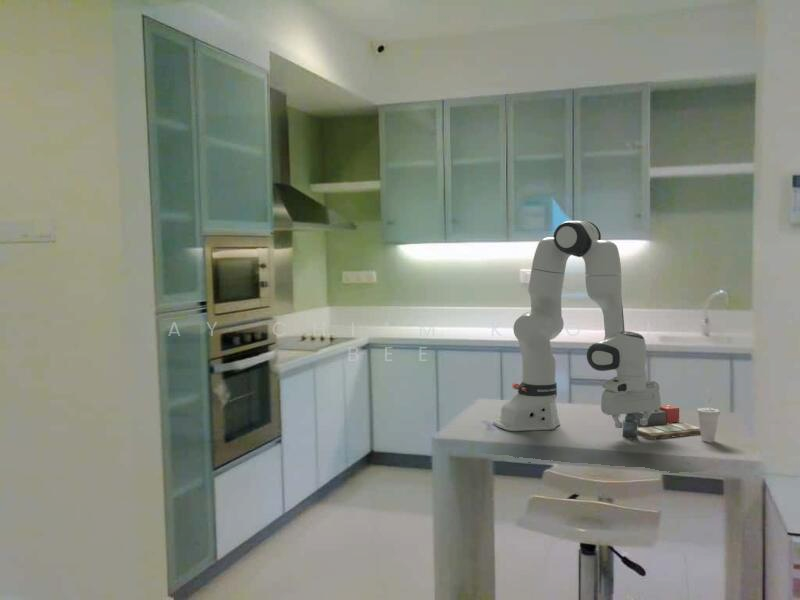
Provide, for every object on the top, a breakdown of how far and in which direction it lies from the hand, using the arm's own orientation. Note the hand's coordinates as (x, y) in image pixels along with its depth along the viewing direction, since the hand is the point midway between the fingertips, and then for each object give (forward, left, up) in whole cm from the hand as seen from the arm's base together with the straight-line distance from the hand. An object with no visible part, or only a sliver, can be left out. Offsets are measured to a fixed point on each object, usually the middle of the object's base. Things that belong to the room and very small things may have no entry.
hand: (631, 426), depth 217 cm
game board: (+14, 0, -3) cm, 15 cm away
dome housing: (+14, +11, -3) cm, 18 cm away
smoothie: (+19, -12, -4) cm, 23 cm away
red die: (+24, +12, -3) cm, 27 cm away
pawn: (0, 0, -3) cm, 3 cm away
